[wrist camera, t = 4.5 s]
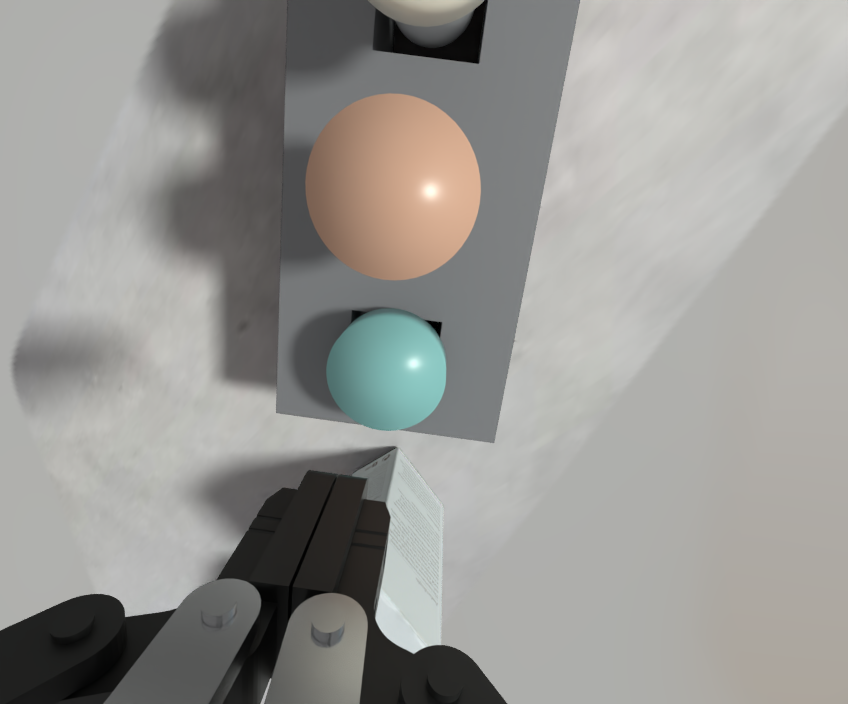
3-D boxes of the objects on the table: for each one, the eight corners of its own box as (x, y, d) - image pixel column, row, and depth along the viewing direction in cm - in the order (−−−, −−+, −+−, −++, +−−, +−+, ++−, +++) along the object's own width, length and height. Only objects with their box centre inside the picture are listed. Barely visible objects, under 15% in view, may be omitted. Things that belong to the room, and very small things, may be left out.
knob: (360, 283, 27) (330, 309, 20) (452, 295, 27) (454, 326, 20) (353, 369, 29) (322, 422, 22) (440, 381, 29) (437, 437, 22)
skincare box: (350, 472, 33) (297, 614, 21) (398, 444, 32) (370, 576, 20) (398, 532, 34) (373, 695, 23) (446, 507, 33) (445, 663, 22)
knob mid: (357, 125, 21) (309, 81, 14) (479, 141, 21) (494, 106, 14) (348, 249, 23) (301, 268, 15) (460, 264, 22) (466, 290, 15)
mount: (330, -62, 23) (291, -150, 18) (563, -33, 23) (601, -112, 17) (308, 374, 31) (276, 413, 25) (485, 398, 30) (494, 443, 25)
